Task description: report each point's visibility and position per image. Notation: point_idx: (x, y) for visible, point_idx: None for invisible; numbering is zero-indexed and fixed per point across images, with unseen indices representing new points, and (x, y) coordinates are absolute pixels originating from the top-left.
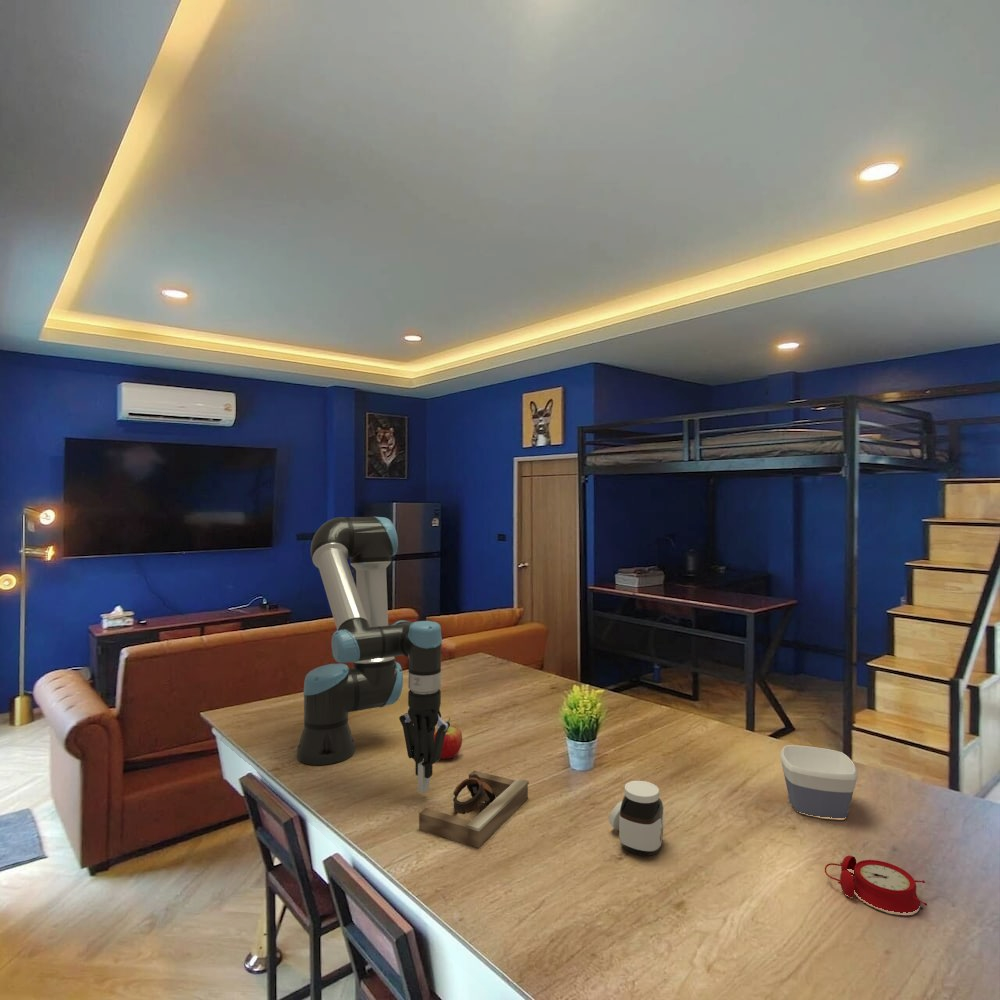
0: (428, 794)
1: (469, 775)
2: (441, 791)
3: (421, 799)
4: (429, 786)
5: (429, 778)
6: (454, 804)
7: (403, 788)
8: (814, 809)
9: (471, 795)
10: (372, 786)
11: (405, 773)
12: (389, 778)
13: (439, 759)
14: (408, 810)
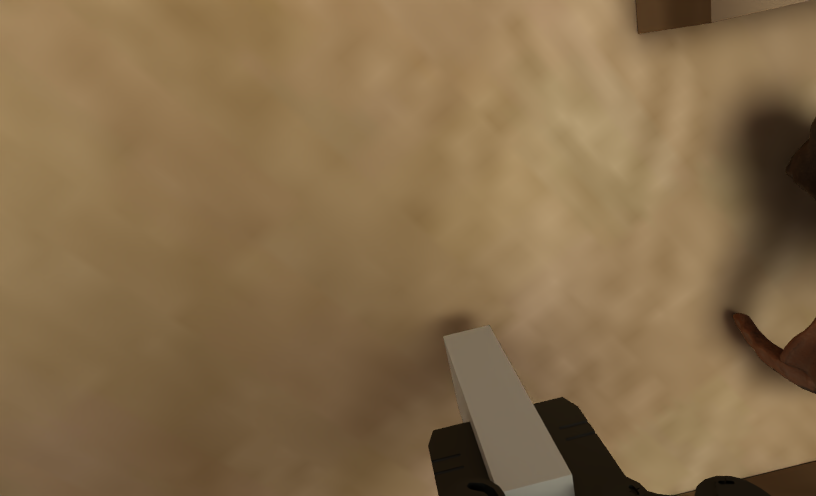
0: (451, 288)
1: (711, 20)
2: (492, 200)
3: None
4: (492, 332)
5: (512, 367)
6: (798, 384)
7: (252, 345)
8: None
9: (800, 185)
10: (75, 459)
11: (38, 183)
12: (37, 319)
13: (747, 486)
14: None
